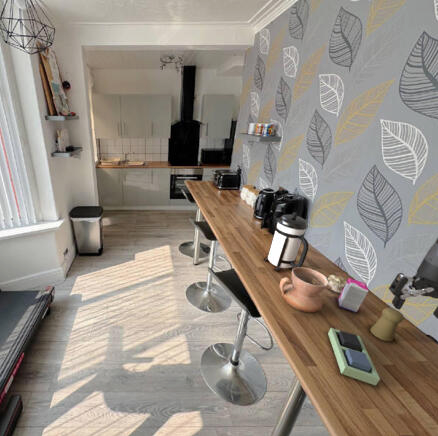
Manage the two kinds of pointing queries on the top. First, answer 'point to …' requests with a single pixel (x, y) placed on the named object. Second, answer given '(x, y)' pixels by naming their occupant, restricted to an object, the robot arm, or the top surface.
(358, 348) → the dark grey block
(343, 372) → the frame
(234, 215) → the top surface
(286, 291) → the ceramic jug
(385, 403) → the top surface
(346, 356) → the blue block
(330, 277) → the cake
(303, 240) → the coffee press
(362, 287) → the supplement box
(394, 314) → the cork
